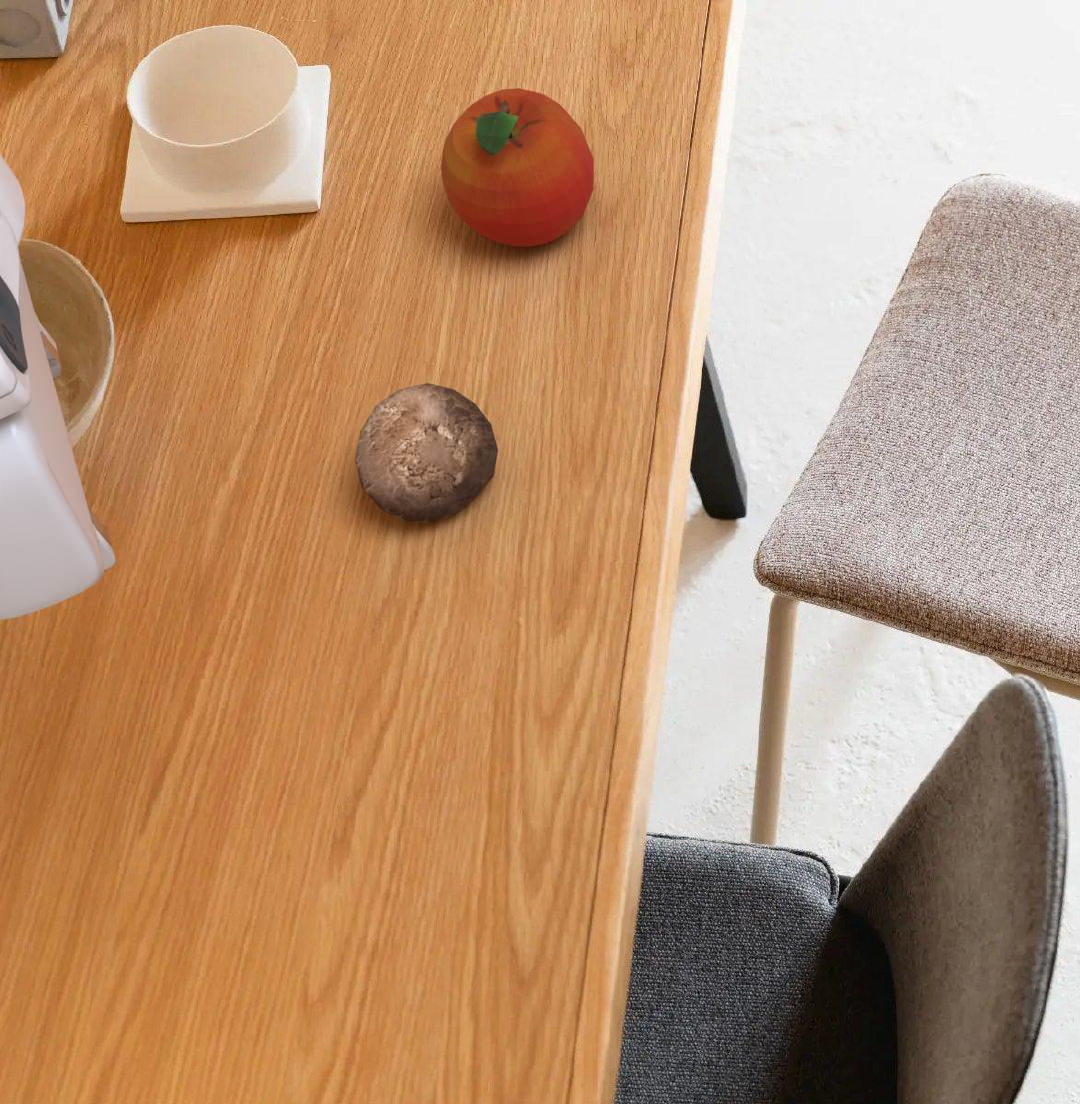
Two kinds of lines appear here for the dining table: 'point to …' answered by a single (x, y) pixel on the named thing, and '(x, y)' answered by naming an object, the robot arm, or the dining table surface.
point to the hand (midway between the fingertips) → (65, 460)
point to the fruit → (517, 168)
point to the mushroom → (425, 453)
